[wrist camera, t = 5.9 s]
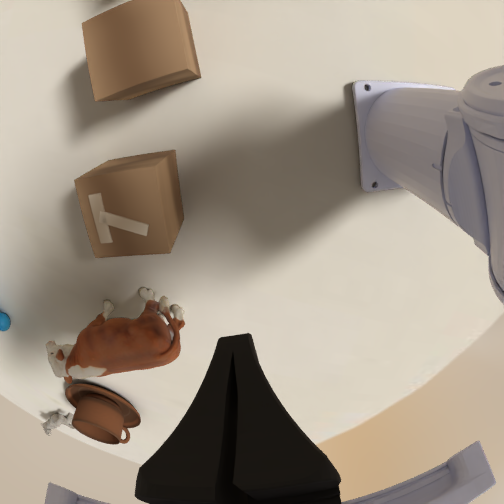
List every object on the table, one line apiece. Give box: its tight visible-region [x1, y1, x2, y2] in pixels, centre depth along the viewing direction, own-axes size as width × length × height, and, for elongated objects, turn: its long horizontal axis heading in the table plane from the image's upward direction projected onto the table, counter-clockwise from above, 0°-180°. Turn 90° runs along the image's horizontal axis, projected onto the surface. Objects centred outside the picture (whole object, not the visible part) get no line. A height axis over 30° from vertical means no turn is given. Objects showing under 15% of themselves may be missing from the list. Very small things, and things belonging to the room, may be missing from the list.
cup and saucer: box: [65, 384, 141, 444], centre depth 30 cm, size 12×12×6 cm
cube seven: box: [74, 150, 184, 258], centre depth 16 cm, size 5×5×5 cm
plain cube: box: [82, 0, 201, 102], centre depth 12 cm, size 5×5×5 cm
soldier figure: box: [41, 413, 74, 435], centre depth 36 cm, size 8×5×12 cm
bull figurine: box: [46, 287, 185, 384], centre depth 20 cm, size 4×14×8 cm, turn 103°
